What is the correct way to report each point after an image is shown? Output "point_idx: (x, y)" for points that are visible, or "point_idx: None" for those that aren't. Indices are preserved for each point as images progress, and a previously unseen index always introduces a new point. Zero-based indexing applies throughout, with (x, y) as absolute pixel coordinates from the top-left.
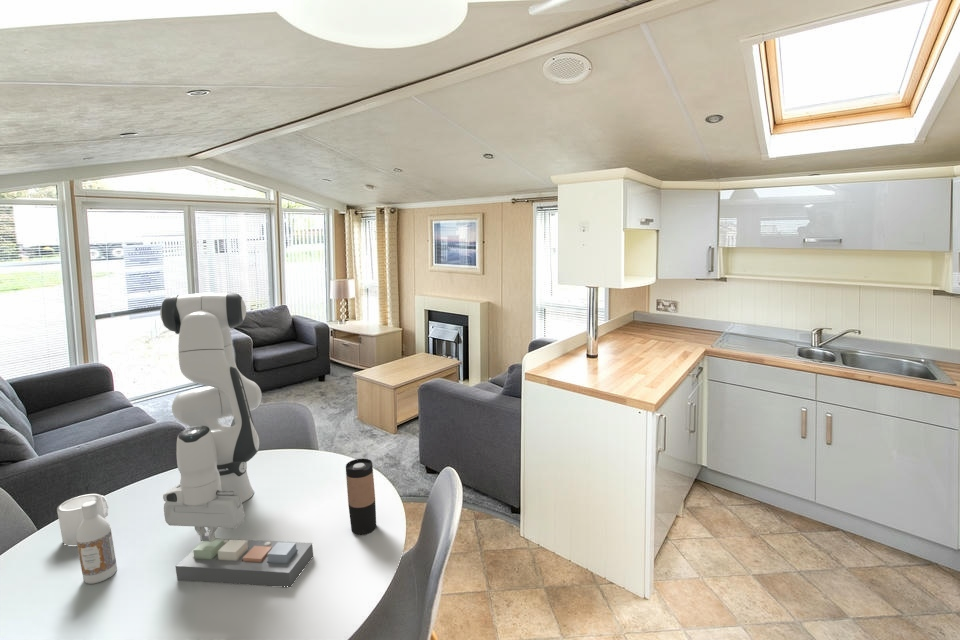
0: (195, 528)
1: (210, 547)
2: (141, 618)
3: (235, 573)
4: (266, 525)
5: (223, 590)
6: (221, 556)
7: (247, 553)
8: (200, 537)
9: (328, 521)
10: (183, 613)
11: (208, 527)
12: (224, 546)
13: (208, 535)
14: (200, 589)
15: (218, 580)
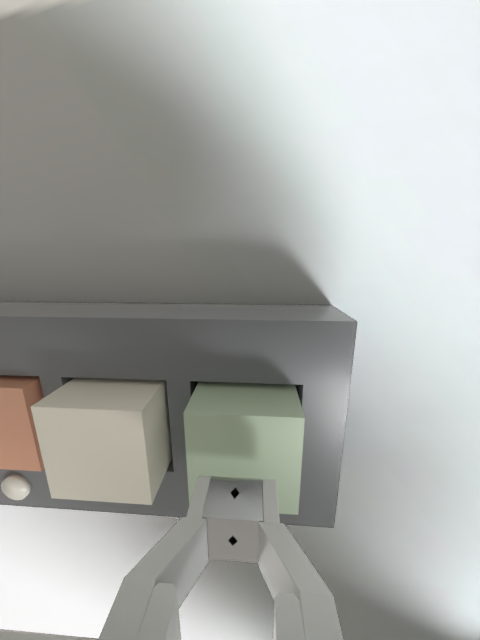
0: (329, 614)
1: (209, 441)
2: (328, 49)
3: (37, 312)
4: (201, 589)
5: (100, 265)
6: (135, 392)
7: (27, 420)
8: (274, 505)
9: (16, 598)
10: (159, 112)
11: (156, 627)
12: (135, 451)
13: (198, 522)
14: (195, 262)
15: (143, 305)
